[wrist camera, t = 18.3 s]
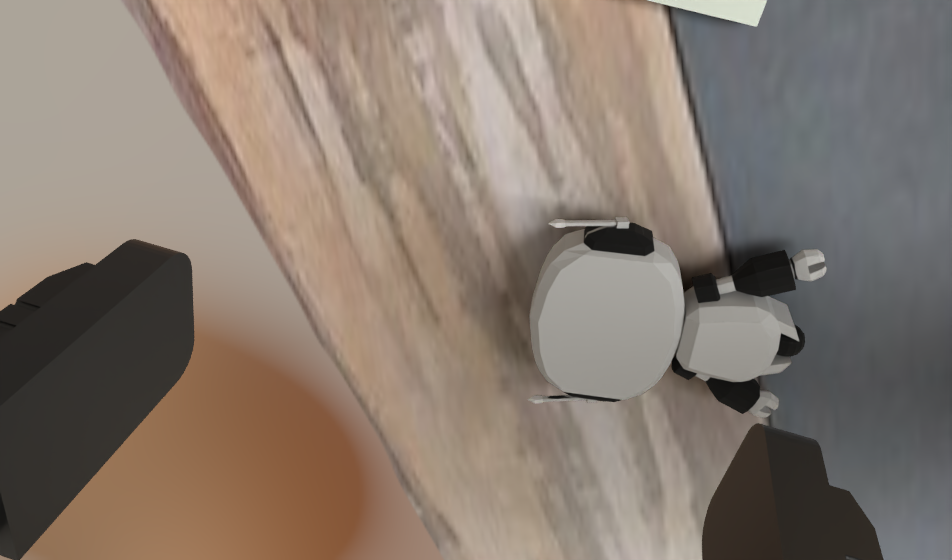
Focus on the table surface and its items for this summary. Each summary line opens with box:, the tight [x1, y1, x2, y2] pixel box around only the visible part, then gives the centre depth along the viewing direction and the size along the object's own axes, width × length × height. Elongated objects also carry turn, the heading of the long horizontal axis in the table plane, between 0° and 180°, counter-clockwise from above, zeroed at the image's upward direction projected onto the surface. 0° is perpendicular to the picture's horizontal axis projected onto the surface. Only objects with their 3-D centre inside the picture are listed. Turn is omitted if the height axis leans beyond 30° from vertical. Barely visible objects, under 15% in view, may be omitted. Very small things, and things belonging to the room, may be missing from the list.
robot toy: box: [528, 217, 827, 418], centre depth 42 cm, size 12×4×15 cm
